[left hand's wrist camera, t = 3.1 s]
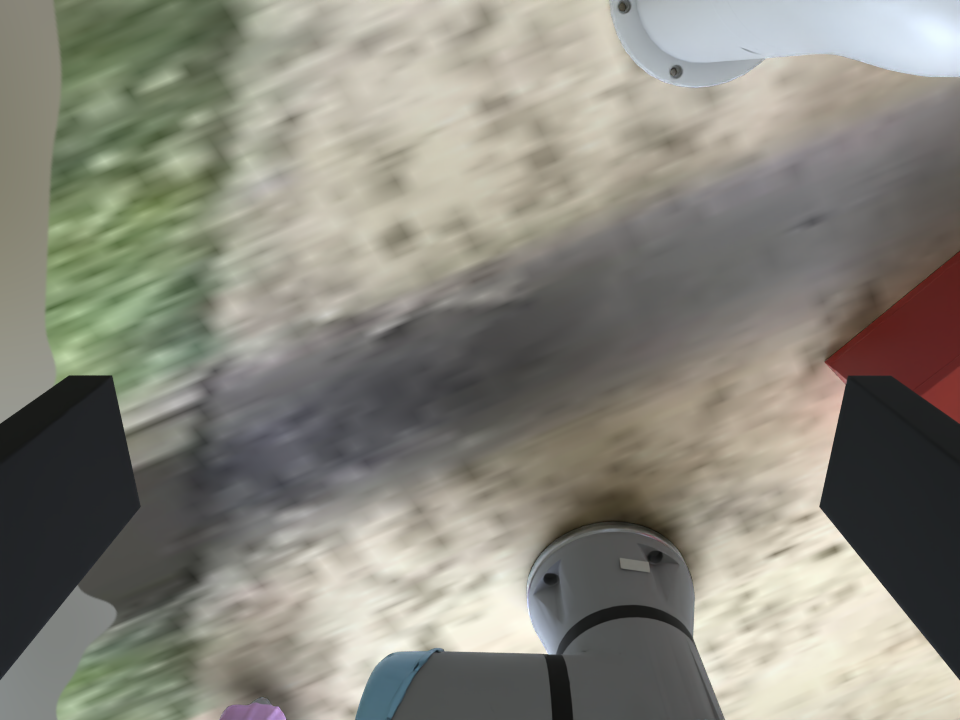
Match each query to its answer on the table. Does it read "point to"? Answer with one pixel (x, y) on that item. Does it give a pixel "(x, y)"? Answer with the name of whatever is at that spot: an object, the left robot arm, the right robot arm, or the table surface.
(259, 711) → the toy character
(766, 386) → the table surface
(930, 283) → the cabinet
